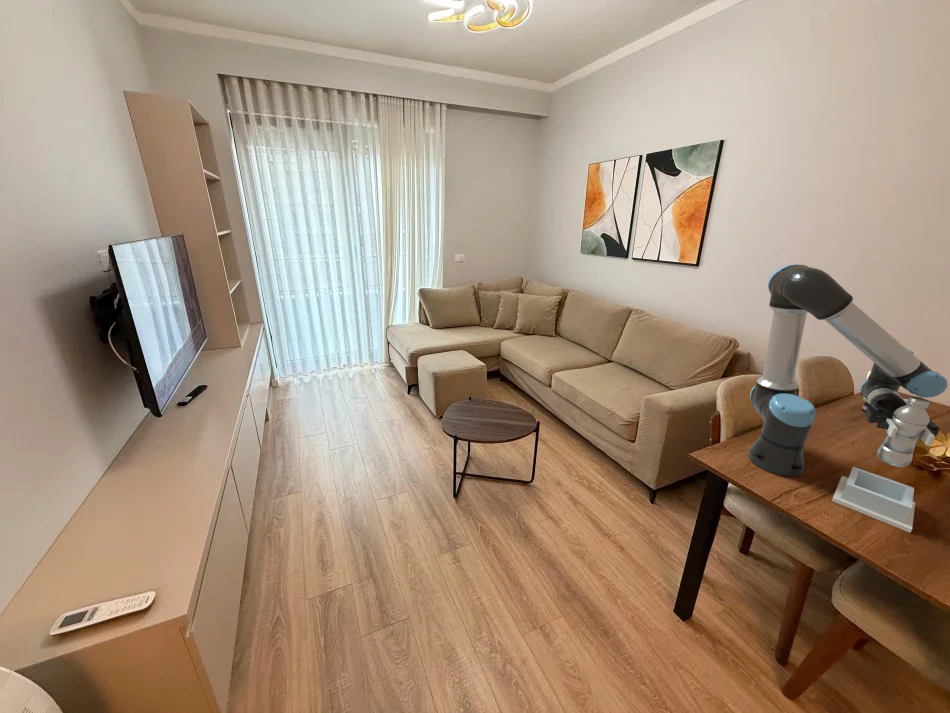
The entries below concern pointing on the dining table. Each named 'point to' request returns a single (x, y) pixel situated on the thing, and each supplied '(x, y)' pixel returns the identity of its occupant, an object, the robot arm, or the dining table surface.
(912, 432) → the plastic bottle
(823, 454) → the dining table surface
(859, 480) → the box
